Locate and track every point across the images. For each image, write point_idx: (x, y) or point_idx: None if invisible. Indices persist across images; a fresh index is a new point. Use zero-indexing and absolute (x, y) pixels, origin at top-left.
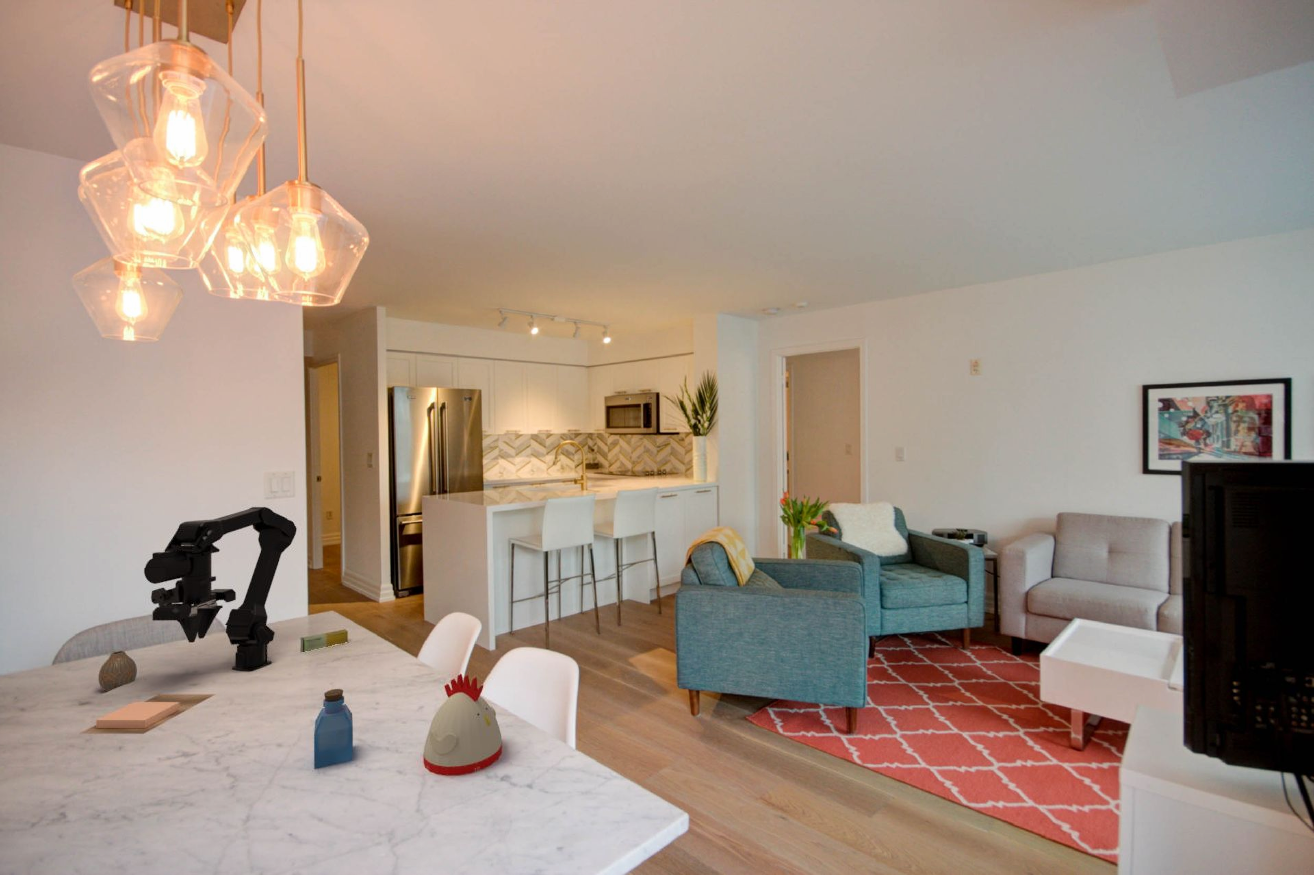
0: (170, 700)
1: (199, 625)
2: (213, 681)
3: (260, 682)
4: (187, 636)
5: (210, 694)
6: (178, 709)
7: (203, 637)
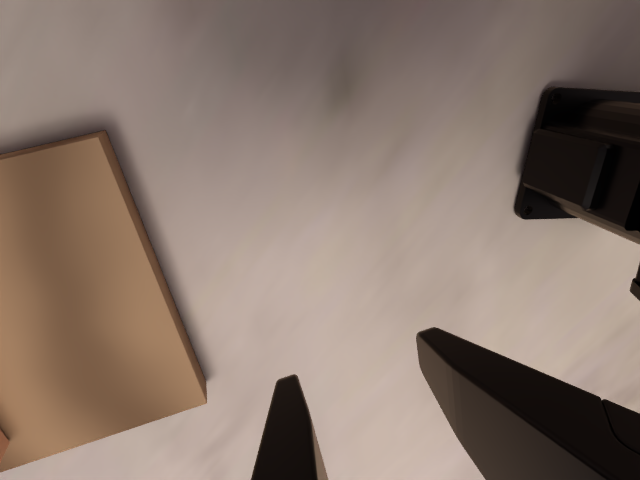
0: (65, 294)
1: (523, 445)
2: (393, 151)
3: (408, 359)
4: (267, 447)
5: (198, 389)
6: (3, 446)
7: (428, 376)
